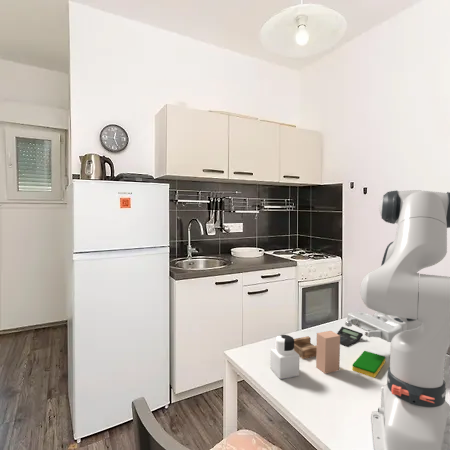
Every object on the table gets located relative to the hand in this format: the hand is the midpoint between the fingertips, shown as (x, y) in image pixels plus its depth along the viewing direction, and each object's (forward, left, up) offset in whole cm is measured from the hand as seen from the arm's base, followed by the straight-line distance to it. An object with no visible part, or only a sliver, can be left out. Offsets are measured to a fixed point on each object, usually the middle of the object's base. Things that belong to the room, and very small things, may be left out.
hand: (356, 328), depth 108 cm
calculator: (+18, +7, -13) cm, 23 cm away
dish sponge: (0, -5, -13) cm, 14 cm away
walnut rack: (-1, +18, -12) cm, 22 cm away
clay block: (-10, +7, -12) cm, 17 cm away
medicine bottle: (-21, +18, -12) cm, 30 cm away
